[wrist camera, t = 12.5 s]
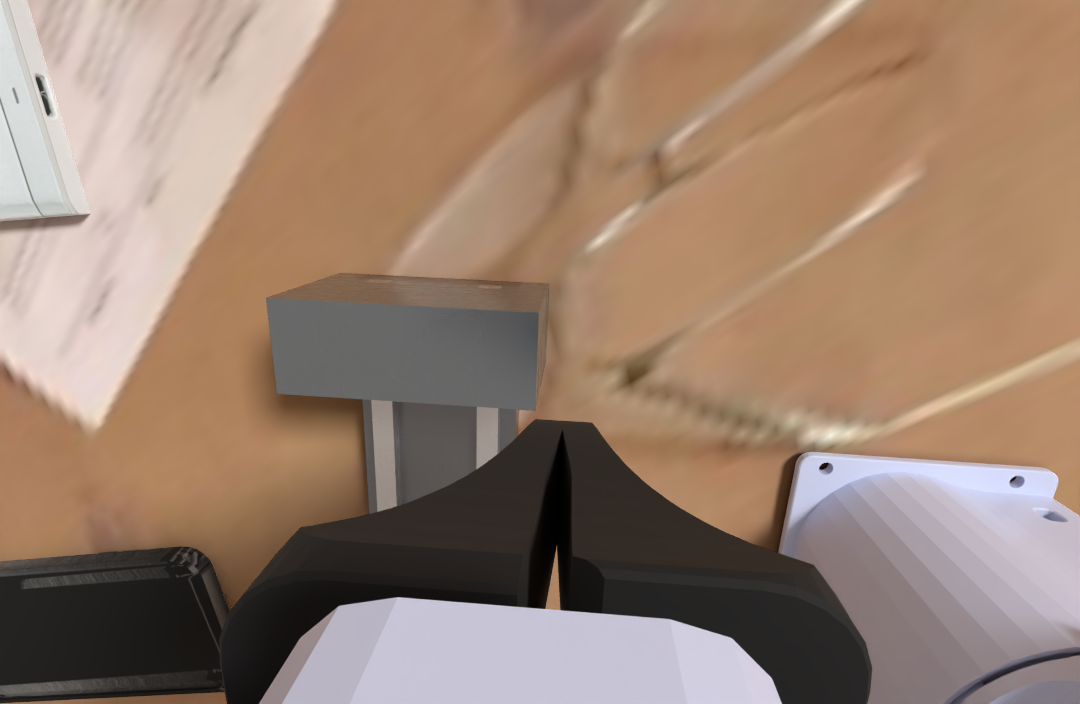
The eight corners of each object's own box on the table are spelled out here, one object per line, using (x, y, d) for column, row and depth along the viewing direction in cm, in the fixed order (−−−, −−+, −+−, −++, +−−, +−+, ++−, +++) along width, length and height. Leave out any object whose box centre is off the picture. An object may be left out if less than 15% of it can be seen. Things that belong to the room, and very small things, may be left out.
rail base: (549, 283, 20) (536, 320, 14) (524, 845, 29) (510, 1008, 23) (339, 273, 20) (245, 304, 15) (378, 828, 29) (328, 984, 23)
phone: (244, 690, 26) (-26, 705, 28) (257, 671, 27) (-3, 685, 29) (193, 552, 24) (-97, 577, 25) (209, 537, 25) (-69, 561, 26)
